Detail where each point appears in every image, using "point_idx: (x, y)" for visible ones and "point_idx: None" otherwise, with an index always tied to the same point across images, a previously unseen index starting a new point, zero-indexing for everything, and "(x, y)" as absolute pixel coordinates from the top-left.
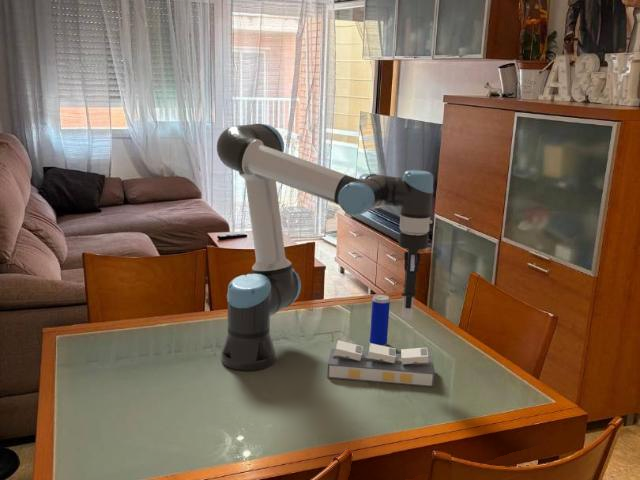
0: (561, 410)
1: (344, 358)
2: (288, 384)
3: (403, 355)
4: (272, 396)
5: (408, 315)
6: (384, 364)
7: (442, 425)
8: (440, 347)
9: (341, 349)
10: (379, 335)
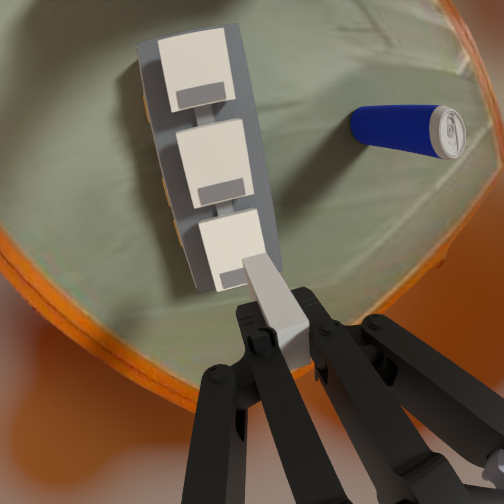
0: None
1: None
2: (91, 10)
3: (216, 225)
4: (44, 18)
5: (250, 292)
6: None
7: (78, 312)
8: (375, 250)
9: (162, 54)
10: (364, 128)
